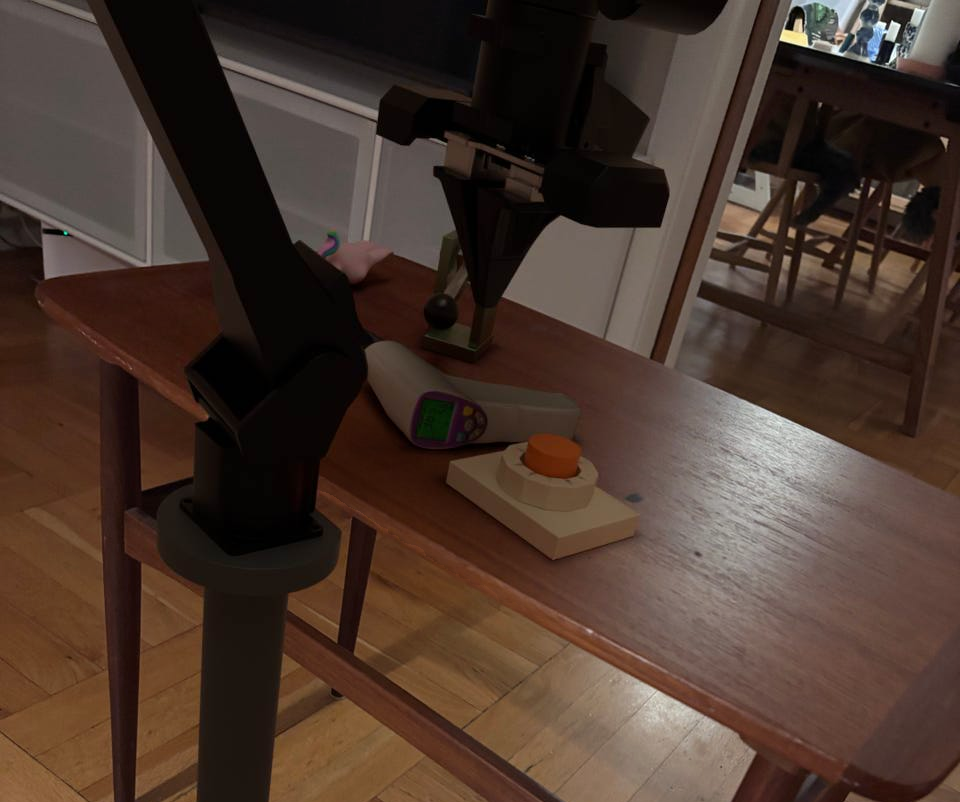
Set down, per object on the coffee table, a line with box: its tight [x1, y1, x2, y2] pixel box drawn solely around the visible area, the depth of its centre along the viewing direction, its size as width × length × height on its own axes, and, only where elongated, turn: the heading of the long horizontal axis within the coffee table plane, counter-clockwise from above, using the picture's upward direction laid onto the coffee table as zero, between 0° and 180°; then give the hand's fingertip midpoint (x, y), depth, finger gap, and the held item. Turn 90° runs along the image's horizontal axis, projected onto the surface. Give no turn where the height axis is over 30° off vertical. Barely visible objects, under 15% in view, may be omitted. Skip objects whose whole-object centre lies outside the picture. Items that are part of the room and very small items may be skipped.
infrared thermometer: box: [365, 340, 583, 450], centre depth 77 cm, size 5×12×15 cm
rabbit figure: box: [316, 230, 395, 285], centre depth 98 cm, size 6×6×15 cm
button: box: [523, 434, 582, 479], centre depth 65 cm, size 4×4×2 cm
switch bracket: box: [422, 229, 499, 364], centre depth 89 cm, size 6×6×10 cm
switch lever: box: [422, 249, 470, 330], centre depth 85 cm, size 11×3×3 cm, turn 163°
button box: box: [445, 442, 641, 561], centre depth 67 cm, size 8×11×4 cm
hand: (485, 306), depth 59 cm, fingers closed
